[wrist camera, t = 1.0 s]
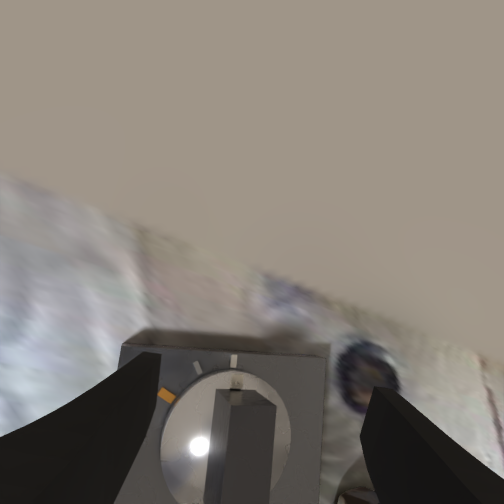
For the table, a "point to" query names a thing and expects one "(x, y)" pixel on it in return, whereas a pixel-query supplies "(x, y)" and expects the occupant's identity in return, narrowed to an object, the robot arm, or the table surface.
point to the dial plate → (266, 368)
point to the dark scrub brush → (358, 496)
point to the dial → (225, 440)
